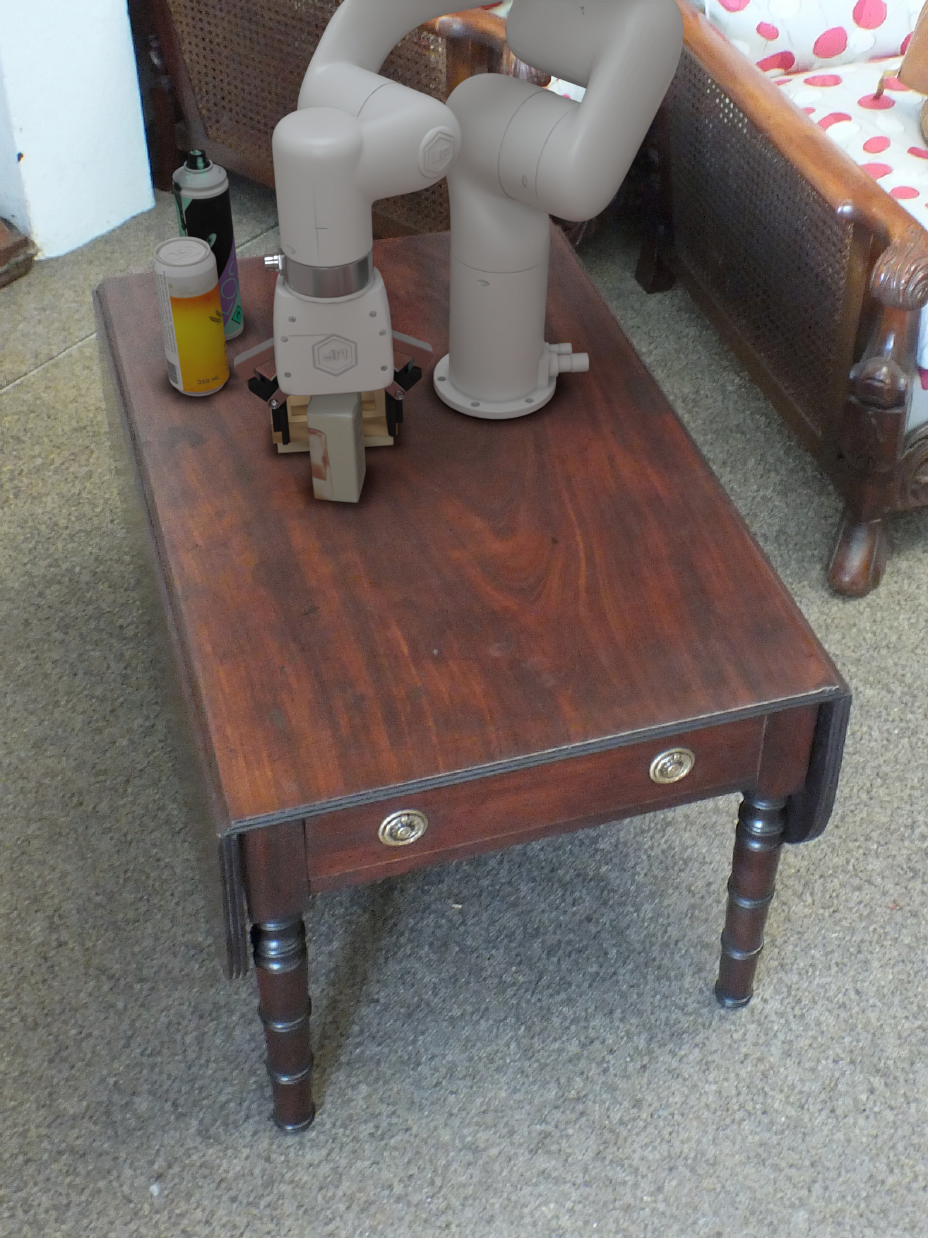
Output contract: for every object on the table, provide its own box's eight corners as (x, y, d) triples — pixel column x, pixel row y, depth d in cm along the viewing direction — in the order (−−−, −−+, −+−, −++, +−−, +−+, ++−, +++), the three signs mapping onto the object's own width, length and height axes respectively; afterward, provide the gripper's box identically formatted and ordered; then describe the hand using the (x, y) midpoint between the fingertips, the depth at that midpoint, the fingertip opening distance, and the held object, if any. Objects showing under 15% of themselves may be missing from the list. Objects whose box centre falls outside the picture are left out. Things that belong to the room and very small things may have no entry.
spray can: (222, 347, 147) (200, 169, 133) (182, 332, 149) (156, 155, 135) (254, 324, 150) (236, 148, 136) (214, 309, 152) (193, 134, 138)
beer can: (242, 381, 142) (227, 250, 132) (195, 406, 139) (176, 273, 128) (204, 358, 145) (187, 228, 135) (158, 382, 142) (136, 250, 131)
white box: (321, 466, 132) (315, 378, 125) (367, 470, 132) (363, 382, 125) (311, 501, 129) (304, 412, 121) (357, 505, 128) (353, 416, 121)
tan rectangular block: (393, 419, 138) (392, 378, 134) (397, 446, 135) (396, 404, 131) (272, 428, 136) (268, 386, 133) (274, 455, 133) (269, 412, 130)
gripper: (223, 295, 111) (244, 464, 123) (437, 281, 112) (437, 449, 124) (221, 247, 116) (242, 414, 128) (426, 235, 118) (427, 401, 130)
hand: (338, 431), depth 126 cm, fingers open, 9 cm apart
